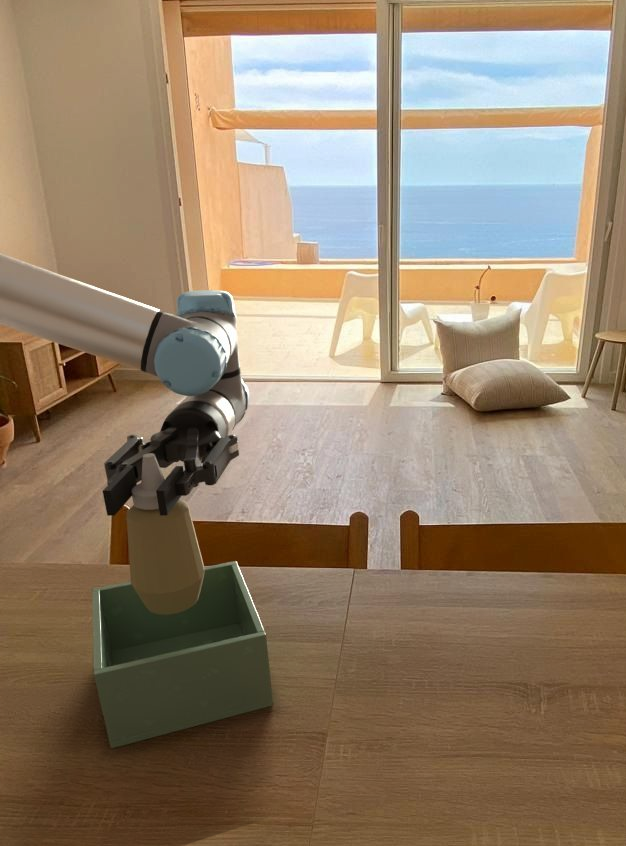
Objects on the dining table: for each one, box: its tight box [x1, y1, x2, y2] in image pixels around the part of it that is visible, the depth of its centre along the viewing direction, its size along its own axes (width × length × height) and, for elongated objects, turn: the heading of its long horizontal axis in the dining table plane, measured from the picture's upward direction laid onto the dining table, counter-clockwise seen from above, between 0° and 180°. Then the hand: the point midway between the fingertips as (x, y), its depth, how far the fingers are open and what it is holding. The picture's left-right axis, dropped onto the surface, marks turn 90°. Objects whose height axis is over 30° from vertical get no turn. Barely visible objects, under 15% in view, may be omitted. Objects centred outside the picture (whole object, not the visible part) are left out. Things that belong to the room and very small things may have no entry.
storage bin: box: [91, 560, 274, 749], centre depth 82 cm, size 18×18×10 cm
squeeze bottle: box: [125, 453, 205, 615], centre depth 76 cm, size 8×8×18 cm
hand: (135, 503), depth 69 cm, fingers closed on squeeze bottle, 5 cm apart
